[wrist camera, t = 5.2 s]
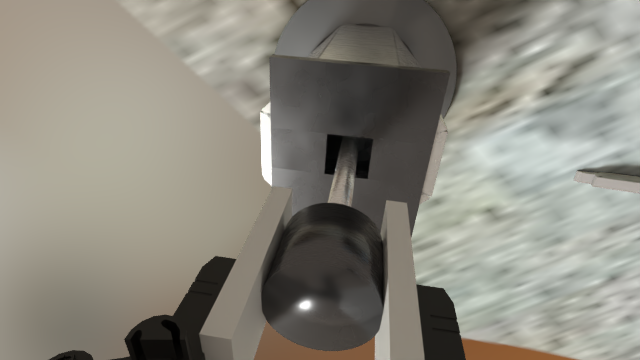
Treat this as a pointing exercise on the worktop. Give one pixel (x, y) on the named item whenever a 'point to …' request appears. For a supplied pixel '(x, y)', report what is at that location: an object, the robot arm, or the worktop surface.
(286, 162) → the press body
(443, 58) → the trivet
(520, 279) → the worktop surface
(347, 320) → the plunger
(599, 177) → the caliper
